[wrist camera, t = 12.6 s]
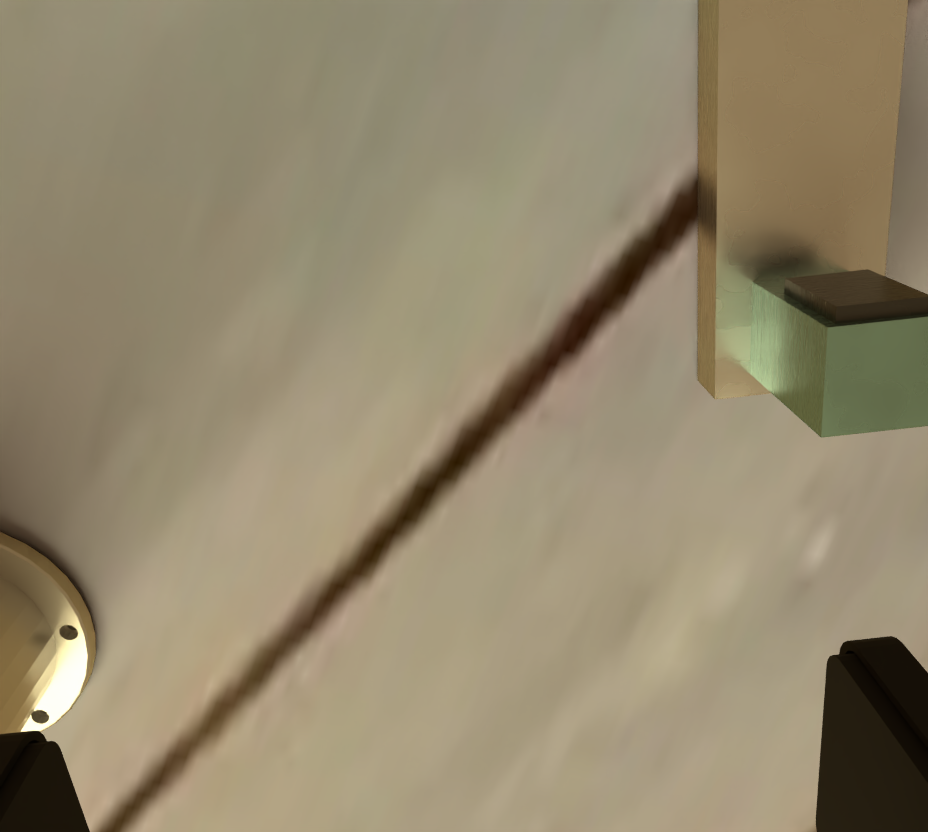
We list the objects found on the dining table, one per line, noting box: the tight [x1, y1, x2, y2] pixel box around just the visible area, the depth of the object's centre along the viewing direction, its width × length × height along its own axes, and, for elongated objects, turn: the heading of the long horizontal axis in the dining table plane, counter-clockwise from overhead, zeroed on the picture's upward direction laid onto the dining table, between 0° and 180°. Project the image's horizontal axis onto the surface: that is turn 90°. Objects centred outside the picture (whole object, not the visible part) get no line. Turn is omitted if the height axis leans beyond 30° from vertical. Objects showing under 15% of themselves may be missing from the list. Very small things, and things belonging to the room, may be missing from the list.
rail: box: [698, 0, 928, 437], centre depth 30 cm, size 7×26×10 cm, turn 6°
